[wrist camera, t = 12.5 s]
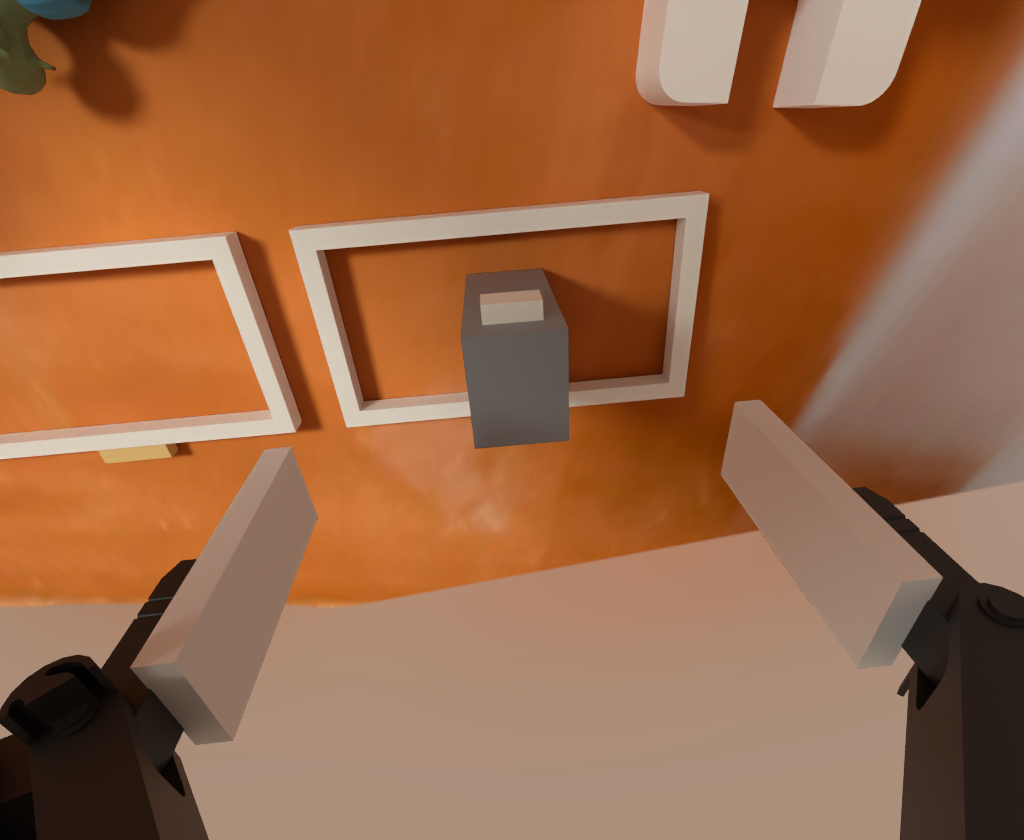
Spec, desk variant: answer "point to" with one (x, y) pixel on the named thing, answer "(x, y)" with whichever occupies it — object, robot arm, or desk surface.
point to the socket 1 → (164, 434)
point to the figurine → (5, 47)
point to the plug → (515, 359)
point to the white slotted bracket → (808, 60)
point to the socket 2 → (493, 222)
